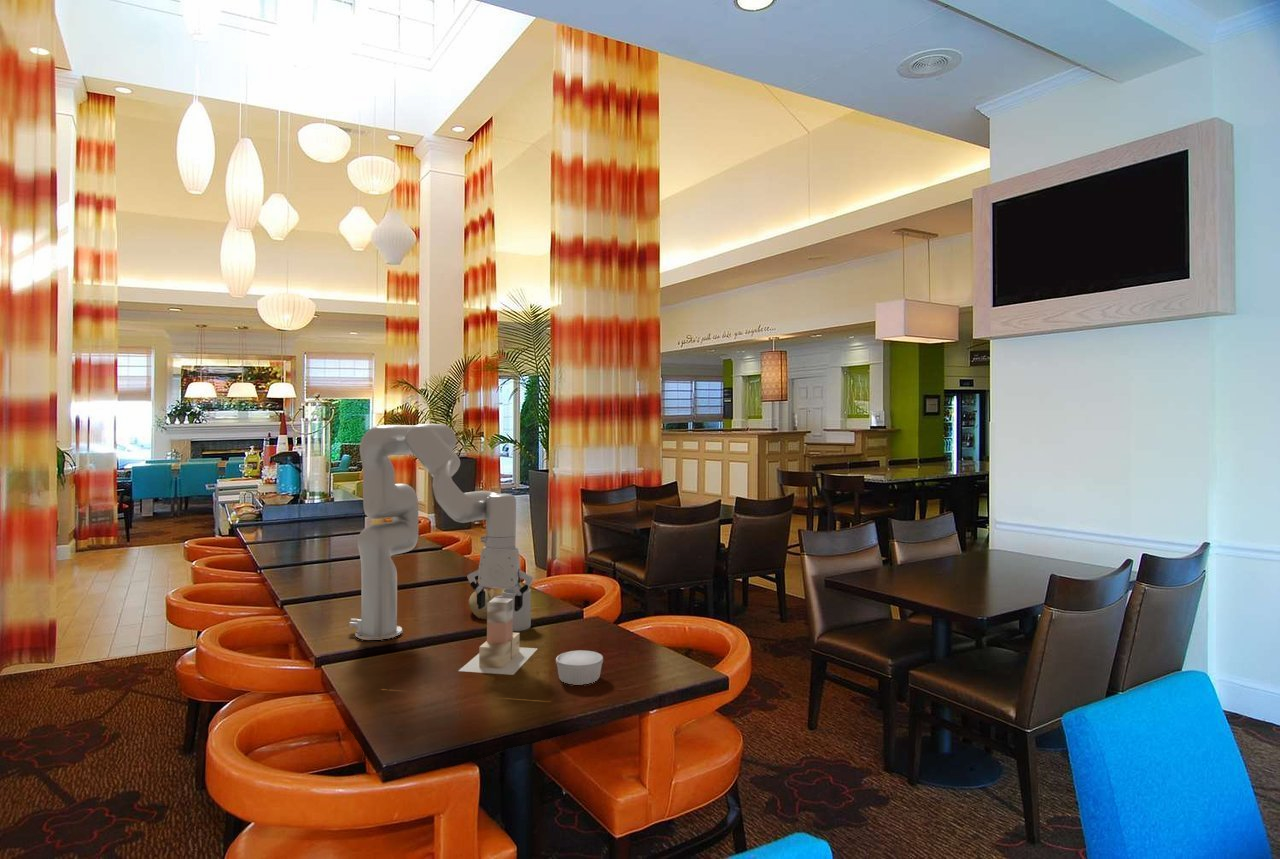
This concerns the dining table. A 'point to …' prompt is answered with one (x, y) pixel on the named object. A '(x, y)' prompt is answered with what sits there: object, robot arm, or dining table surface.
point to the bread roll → (488, 597)
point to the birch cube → (499, 610)
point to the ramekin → (579, 667)
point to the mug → (524, 614)
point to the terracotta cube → (499, 632)
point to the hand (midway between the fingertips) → (499, 608)
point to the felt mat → (508, 669)
